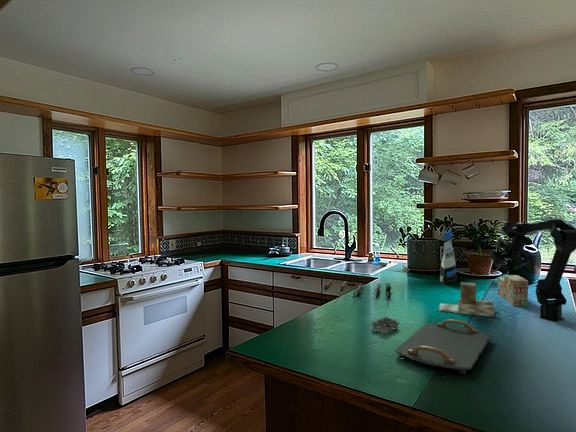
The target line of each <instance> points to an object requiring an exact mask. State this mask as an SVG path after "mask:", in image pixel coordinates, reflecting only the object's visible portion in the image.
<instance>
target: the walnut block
mask: <svg viewBox="0 0 576 432" xmlns="http://www.w3.org/2000/svg"><path fill="white" fill-rule="evenodd" d="M460 299H461V304H473V305H476V300H477V285H476V282H469V281H468V282H466V281H465V282H464V281H461V282H460Z"/></svg>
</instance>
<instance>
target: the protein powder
mask: <svg viewBox="0 0 576 432" xmlns="http://www.w3.org/2000/svg"><path fill="white" fill-rule="evenodd" d="M452 231H453V230H452V229H451V230H449V231H447V232H445V233H443V255H442V259H441V263H440V273H439V282H440V283H441V284H442V285H449V284H450V285H451V284H455V283H456V282H457V281H458V280H457V278H458V276H457V265H456V258H455V257H456V256H455V252H454V247H453V245H452V241H453V238H452V236H453V234H452V233H453V232H452Z"/></svg>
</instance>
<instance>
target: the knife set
mask: <svg viewBox="0 0 576 432" xmlns="http://www.w3.org/2000/svg"><path fill="white" fill-rule="evenodd" d="M332 285H333V280H332V279H329V280H328V282H326V283H325V284H324V285H323V288H321V289H320V290H318V292H319V293H323V292H324V291H327V290H329V289H330V288H331V287H332ZM347 286H348V282H347V280H344V281H343V282H342V284H341V285H340V286H339V289H338V290H337V291H336V293H337V294H338V293H339V292H344V291H345V290H346V288H347ZM381 286H382V285H381V283H380V282H378V283H377V284H376V288H375V290H374V292H375V293H374V296H375V297H376V296H377V295H379V294H380V291H381ZM385 287H386V288H385V298H386V300H387V299H389V298H388V297H391V292H392V291H391V290H392V286H391V284H390V283H386V284H385ZM364 289H365V287H363V285H362V284H359V285H358V286H357V287H356V289H355V290H354V291H353V295H352V297H353V298H355V297H357V296H360V295H362V291H363V290H364ZM354 296H355V297H354Z"/></svg>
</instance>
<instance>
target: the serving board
mask: <svg viewBox="0 0 576 432" xmlns="http://www.w3.org/2000/svg"><path fill="white" fill-rule="evenodd" d="M454 324H457V325H454ZM459 325H461V326H459ZM491 338H492V334H489V333H487V332H483V331H479V330H478V329H475V328H473V326H472V325H471V324H470V323H468V322H466V321H463V320H459V319H452V318H451V319H445V320H444V321H442V322H438V323H433V322H429V323H424V324H423V325H422V326H421V327H420V328H419V329H418V330H417V331H415V332H414V333H413V334H412V335H411V336H410V337H408V338H407V339H406V340H405V341H403V342H402V343H401V344H400V345H399V346H398V347H396V349H395V350H394V351H395V353H397V354H398V358H399V357H400V358H405V359H406V358H407V359H410V360H412V361H417V362H419V363H422V364H426V365H428V366H429V365H430V366H435V367H439V368H447V369H451V370H452V369H453V370H457V371H458V374H459V373H460V374H459V375H461V374H463V375H464V374H465V375H466V374H467V371H469V370H471V369H472V368H473V367H474V365H475V363H476V362H477V360H478V359H479V357H480V355H481V354H482V353H483V352H484V350H485V348H486V347H487V346H488V343H489V341H490V340H491ZM400 358H399V359H400ZM463 375H462V376H463ZM465 375H464V376H465Z"/></svg>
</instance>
